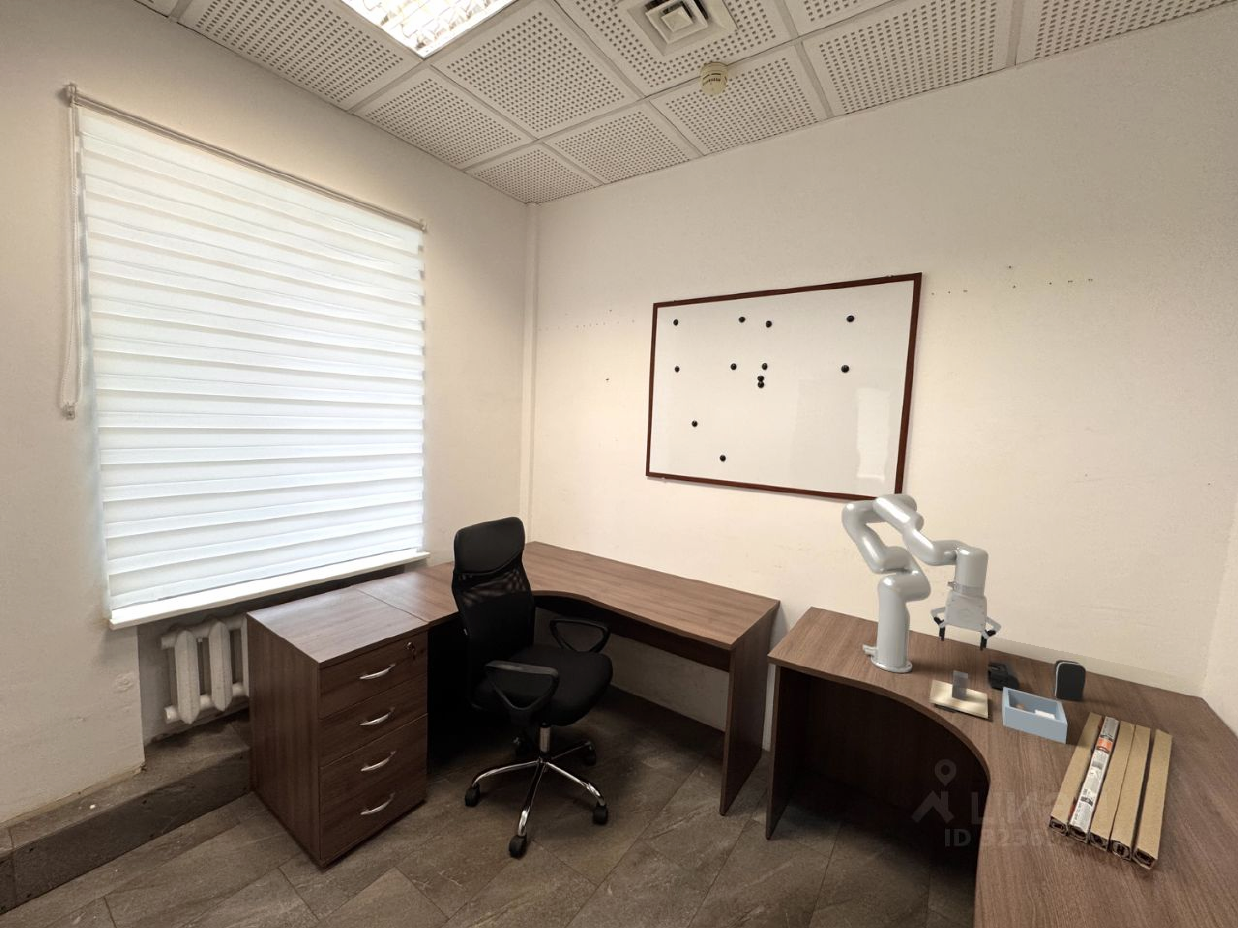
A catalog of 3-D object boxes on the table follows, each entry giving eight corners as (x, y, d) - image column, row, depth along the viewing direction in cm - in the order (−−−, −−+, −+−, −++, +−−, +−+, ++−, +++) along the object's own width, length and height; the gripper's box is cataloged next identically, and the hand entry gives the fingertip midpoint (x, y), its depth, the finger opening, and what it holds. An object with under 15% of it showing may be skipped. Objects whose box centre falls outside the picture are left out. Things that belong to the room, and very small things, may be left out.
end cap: (1018, 698, 155) (1020, 677, 155) (990, 691, 159) (992, 670, 158) (1013, 683, 164) (1015, 663, 163) (986, 677, 167) (988, 657, 167)
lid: (929, 704, 150) (931, 676, 149) (932, 684, 161) (934, 658, 160) (987, 721, 142) (990, 692, 141) (986, 699, 153) (989, 671, 152)
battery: (1076, 695, 157) (1080, 660, 156) (1083, 702, 153) (1087, 666, 152) (1049, 691, 159) (1053, 657, 158) (1055, 698, 155) (1059, 662, 154)
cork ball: (1013, 716, 144) (1014, 705, 144) (1012, 711, 147) (1013, 700, 147) (1027, 720, 142) (1028, 709, 142) (1026, 715, 145) (1027, 704, 145)
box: (1003, 727, 140) (1005, 706, 140) (1001, 705, 151) (1003, 686, 150) (1065, 745, 133) (1067, 724, 132) (1058, 721, 143) (1061, 701, 143)
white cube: (1035, 730, 138) (1036, 716, 138) (1033, 723, 141) (1035, 709, 141) (1054, 735, 136) (1055, 721, 135) (1052, 728, 139) (1054, 714, 139)
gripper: (932, 585, 150) (926, 640, 152) (1005, 600, 140) (998, 658, 142) (934, 579, 156) (928, 631, 158) (1004, 592, 146) (997, 648, 148)
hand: (961, 644), depth 150 cm, fingers open, 9 cm apart
